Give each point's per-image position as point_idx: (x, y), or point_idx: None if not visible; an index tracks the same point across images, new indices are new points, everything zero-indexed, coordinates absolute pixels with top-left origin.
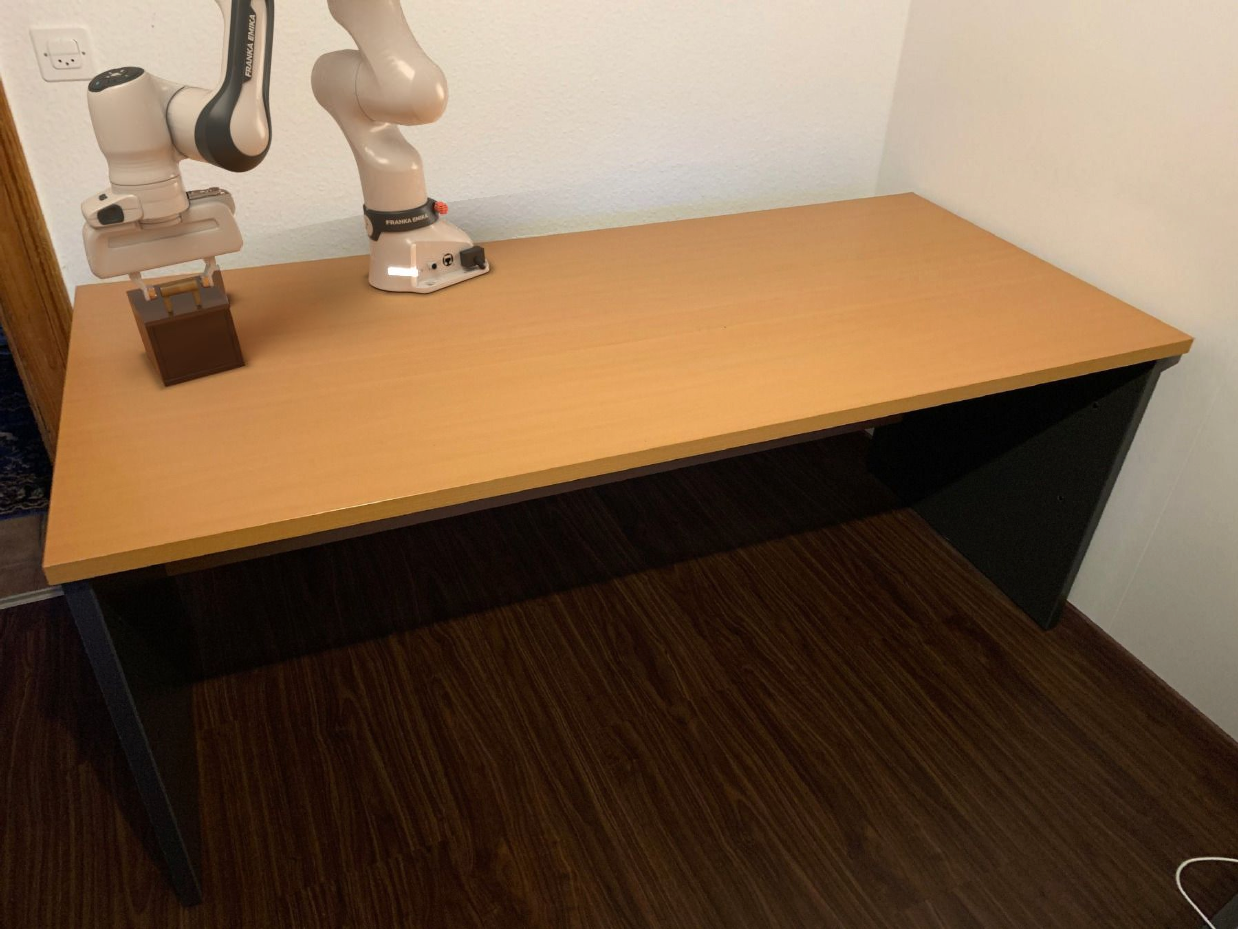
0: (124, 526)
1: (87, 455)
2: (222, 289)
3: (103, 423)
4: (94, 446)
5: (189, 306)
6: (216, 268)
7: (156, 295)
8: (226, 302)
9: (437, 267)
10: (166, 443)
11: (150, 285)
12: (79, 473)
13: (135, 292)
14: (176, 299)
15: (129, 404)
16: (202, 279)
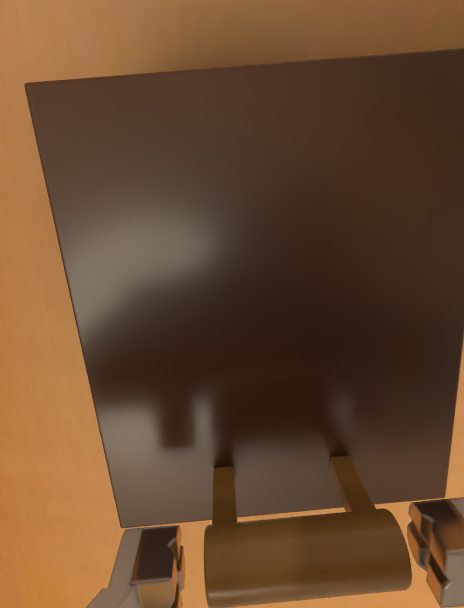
0: None
1: (15, 555)
2: None
3: (33, 463)
4: (24, 534)
5: (302, 461)
6: None
7: (183, 587)
8: (438, 489)
9: None
10: None
11: (163, 596)
12: (8, 598)
13: (80, 146)
14: (268, 363)
15: (82, 410)
16: (438, 594)
